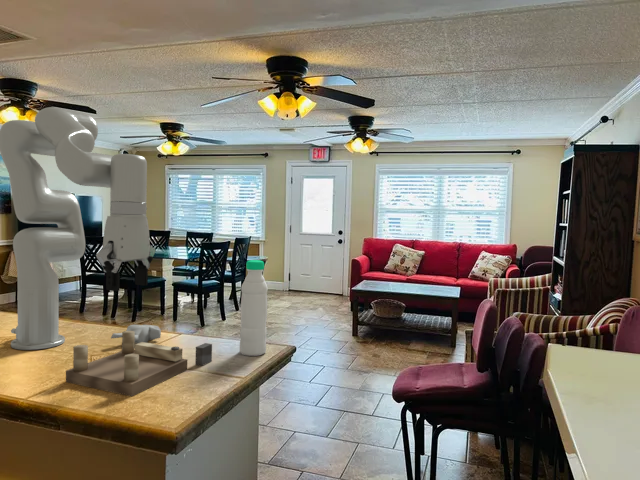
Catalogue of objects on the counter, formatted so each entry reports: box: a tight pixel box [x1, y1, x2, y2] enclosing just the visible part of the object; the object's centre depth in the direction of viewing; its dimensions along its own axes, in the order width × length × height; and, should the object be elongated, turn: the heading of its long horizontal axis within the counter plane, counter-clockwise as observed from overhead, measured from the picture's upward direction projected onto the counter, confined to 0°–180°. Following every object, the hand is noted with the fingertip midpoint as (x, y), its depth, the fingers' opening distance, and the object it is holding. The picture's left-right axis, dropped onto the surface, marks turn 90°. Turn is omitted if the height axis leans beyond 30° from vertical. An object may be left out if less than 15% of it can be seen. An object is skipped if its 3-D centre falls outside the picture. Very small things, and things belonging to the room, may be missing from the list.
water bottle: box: [239, 259, 269, 357], centre depth 126 cm, size 7×7×25 cm
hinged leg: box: [134, 342, 183, 361], centre depth 112 cm, size 12×2×3 cm, turn 69°
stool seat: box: [65, 331, 213, 397], centre depth 110 cm, size 19×26×8 cm
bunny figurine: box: [110, 324, 162, 344], centre depth 133 cm, size 10×5×15 cm
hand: (127, 287), depth 107 cm, fingers open, 8 cm apart
